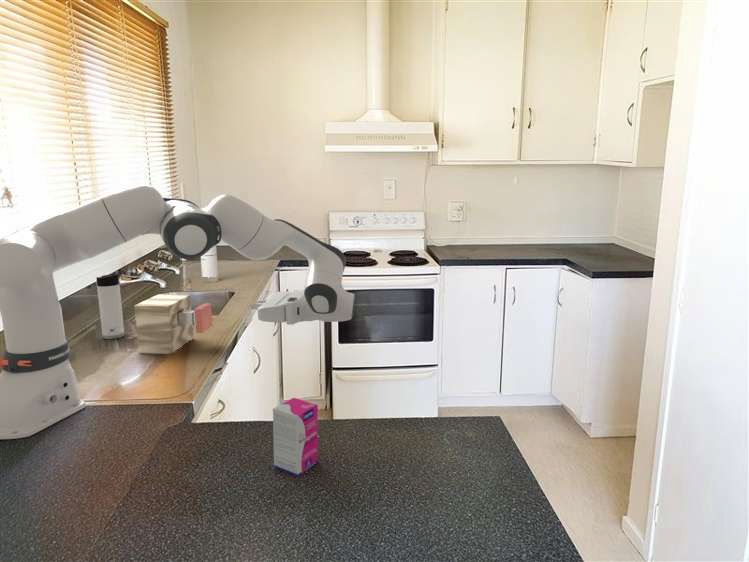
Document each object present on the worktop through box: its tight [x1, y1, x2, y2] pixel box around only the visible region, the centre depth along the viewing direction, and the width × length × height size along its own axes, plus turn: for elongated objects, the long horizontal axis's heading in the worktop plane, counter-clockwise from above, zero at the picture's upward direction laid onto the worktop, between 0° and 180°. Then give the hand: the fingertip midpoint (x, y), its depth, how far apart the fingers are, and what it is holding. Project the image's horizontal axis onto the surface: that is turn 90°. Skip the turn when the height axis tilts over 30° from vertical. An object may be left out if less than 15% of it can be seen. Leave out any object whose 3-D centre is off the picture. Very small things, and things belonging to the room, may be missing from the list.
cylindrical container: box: [200, 245, 219, 278], centre depth 251 cm, size 7×7×25 cm
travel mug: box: [96, 273, 125, 340], centre depth 171 cm, size 6×7×20 cm
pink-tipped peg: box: [177, 302, 213, 334], centre depth 161 cm, size 7×14×7 cm, turn 84°
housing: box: [133, 293, 194, 355], centre depth 162 cm, size 14×10×14 cm
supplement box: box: [272, 397, 319, 477], centre depth 97 cm, size 6×6×12 cm
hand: (252, 304), depth 158 cm, fingers closed
